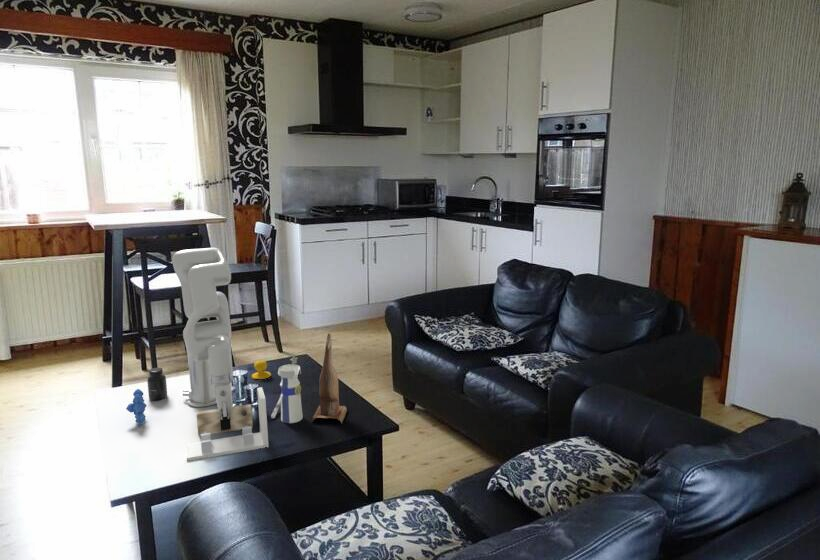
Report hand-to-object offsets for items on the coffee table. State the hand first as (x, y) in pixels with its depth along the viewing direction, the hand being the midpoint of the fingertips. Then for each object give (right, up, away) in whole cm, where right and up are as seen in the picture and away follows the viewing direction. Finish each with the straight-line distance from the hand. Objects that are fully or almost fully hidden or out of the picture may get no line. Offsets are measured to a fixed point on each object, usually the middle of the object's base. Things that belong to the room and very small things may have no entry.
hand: (225, 427), depth 204 cm
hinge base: (+4, -4, -12) cm, 13 cm away
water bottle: (+21, +1, +9) cm, 23 cm away
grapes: (-34, 0, +8) cm, 35 cm away
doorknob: (0, +9, +51) cm, 52 cm away
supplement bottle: (-36, +4, +29) cm, 46 cm away
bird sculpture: (+35, +1, +10) cm, 36 cm away
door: (0, -1, 0) cm, 1 cm away
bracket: (+15, +3, +20) cm, 25 cm away
